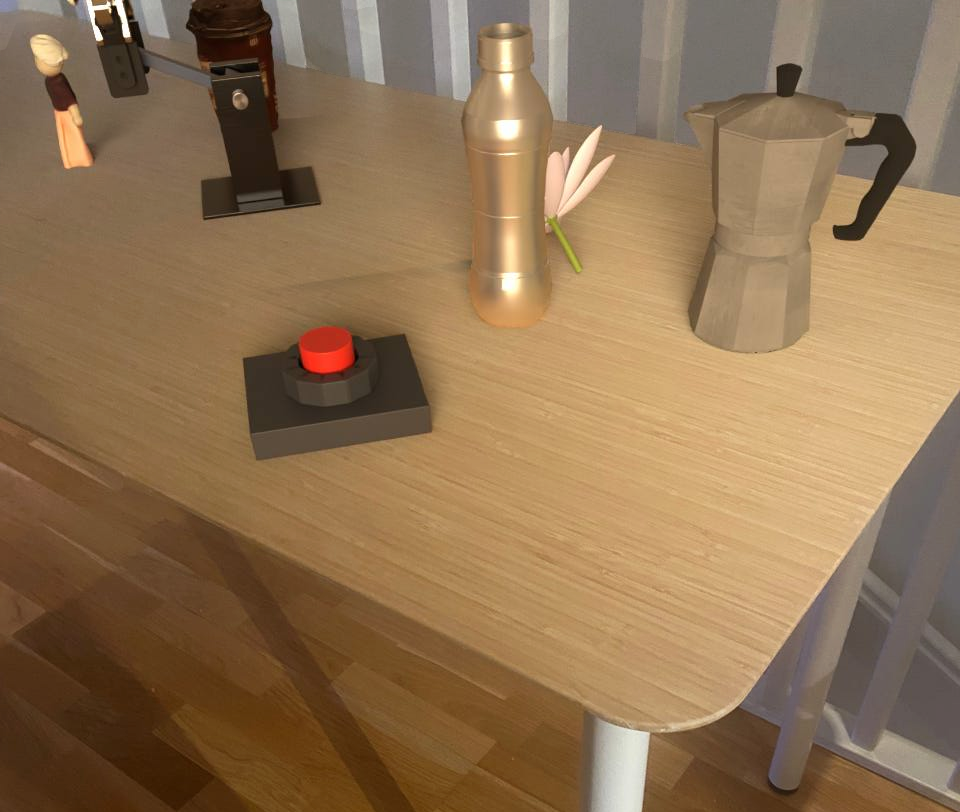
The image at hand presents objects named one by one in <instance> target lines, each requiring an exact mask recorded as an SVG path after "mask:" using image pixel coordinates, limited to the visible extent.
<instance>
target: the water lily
mask: <svg viewBox="0 0 960 812" xmlns="http://www.w3.org/2000/svg"><path fill="white" fill-rule="evenodd" d="M602 129H603V124H601V125H598V126H597V128H595V129H594V130H593V131H592V132H591V133H590V134H589V135H588V137H587V138H586V139H585V141H584V142H583V143H582V145H580V147H579V149H578V151H577V153H576V154H575V155H574V158H573V160H572V162H571V159H570V158H571V155H570V154H571V153H570V151H571V150H570V146H569V145H568V146H567V148H566V149H565V150H564V152H563V153H562V154H561V153H560V152H559V151H554V152H553V151H552V153H551V154H550V155H549V158H548V165H547V172H546V190H545V197H544V200H545V209H544V218H545V232H546V235H547V234H550V233H552V232H554V233H555V235H556V237H557V239H558V240H559V242H560V244H561V246H562V248H563V250H564V252H565V253H566V255H567V257H568V260H569V261H570V263H571V265H572V267H573V270H574V271H575V273H576V274H578V273H580V272H581V271H583V270H584V268H583V266H582V264H581V262H580V260H579V258H578V257H577V255H576V253H575V251H574V250H573V249H574V248H573V247H572V246H571V244H570V242H569V240H568V239H567V237H566V235H565V234H564V231H563V230H562V228H561V227H560V225H561V223H562V221H563V217H564V216H565V215H566V214H568V213H569V212H570V211H572V210H573V209H574V208H575V207H576V206H578V205H579V204H580V203H581V202H582V201H583V200H584V199H585V198H586V197H587V196H588V195H589V194H590V193H592V191H593V190H594V189H595V188H596V186H597V185H598V184H599V183H600V181H601V180H602V178H603V177H604V176H605V174H606V173H607V171H608V170H609V168H610V166H611V165H612V163H613V161H614V159H615V158H616V156H617V155H616V154H612V155H609V156H607V157H606V158H604V159H603V160H601V161H599V162H598V163H597V165H595V167H593V168H592V169H591V171H590V172H589V173H588V174H587V175H586V172H587V171H588V169H589V166H590V164H591V162H592V159H593V158H594V155H595V152H596V149H597V146H598V143H599V140H600V137H601V133H602ZM585 175H586V176H585ZM584 177H585V178H584ZM583 178H584V179H583ZM582 180H583V181H582Z"/></svg>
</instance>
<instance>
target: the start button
mask: <svg viewBox="0 0 960 812" xmlns="http://www.w3.org/2000/svg"><path fill="white" fill-rule="evenodd" d="M351 335H352V334H351V333H350V332H349V331H348V330H347V329H345V328H342V327H339V326H321V327H316V328H313V329H310V330H308V331H306V332H305V333H303V334H302V335H301V336H300V338H299V340H298V342H299V349H300V354H301V359H302V364H303V368H304V369H305V370H306V371H307V372H308V373H315V374H323V375H324V374H331V373H338V372H341V371H343V370H345V369H347V368H350V367H352V366H353V364H354V362H355V355H354V349H353V342H352V336H351Z"/></svg>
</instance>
